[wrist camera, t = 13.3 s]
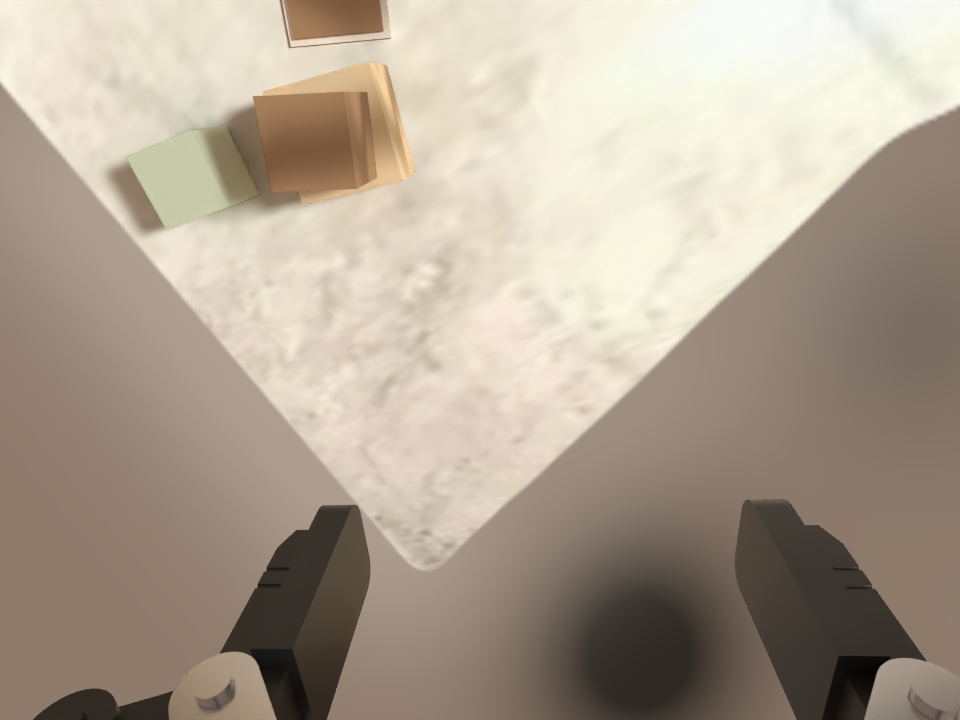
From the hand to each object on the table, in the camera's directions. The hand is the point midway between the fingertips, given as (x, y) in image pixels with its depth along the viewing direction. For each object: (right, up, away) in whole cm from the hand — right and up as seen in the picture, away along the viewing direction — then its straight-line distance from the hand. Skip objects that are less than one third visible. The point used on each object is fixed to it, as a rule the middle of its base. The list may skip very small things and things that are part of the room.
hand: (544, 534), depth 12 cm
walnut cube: (-11, +18, +24) cm, 32 cm away
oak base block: (-10, +20, +28) cm, 36 cm away
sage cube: (-21, +18, +30) cm, 41 cm away
